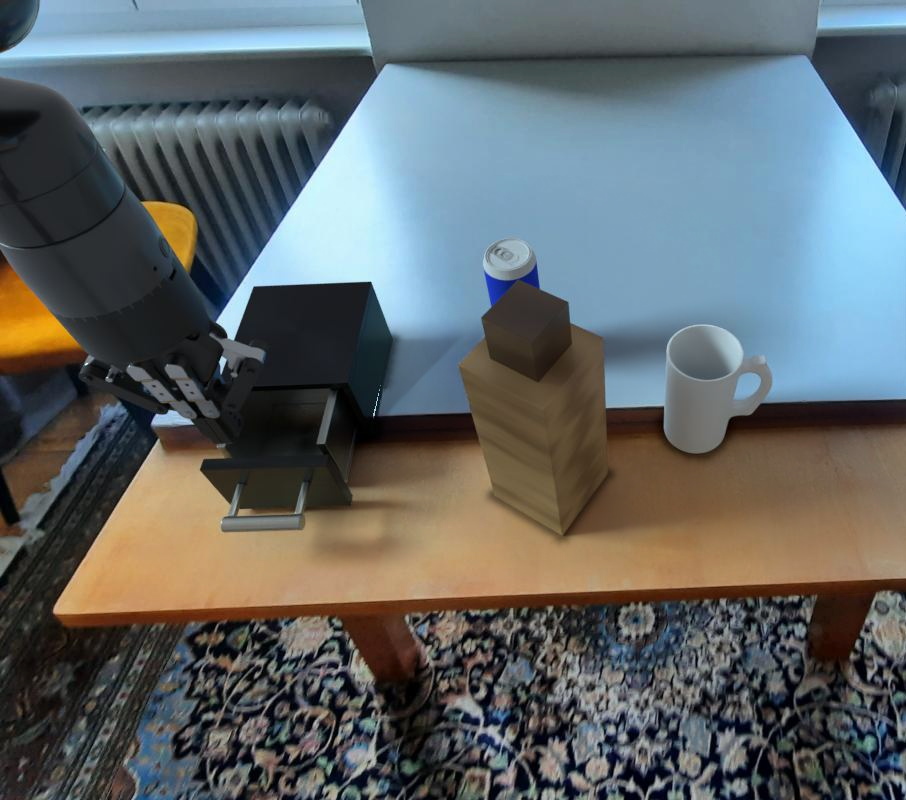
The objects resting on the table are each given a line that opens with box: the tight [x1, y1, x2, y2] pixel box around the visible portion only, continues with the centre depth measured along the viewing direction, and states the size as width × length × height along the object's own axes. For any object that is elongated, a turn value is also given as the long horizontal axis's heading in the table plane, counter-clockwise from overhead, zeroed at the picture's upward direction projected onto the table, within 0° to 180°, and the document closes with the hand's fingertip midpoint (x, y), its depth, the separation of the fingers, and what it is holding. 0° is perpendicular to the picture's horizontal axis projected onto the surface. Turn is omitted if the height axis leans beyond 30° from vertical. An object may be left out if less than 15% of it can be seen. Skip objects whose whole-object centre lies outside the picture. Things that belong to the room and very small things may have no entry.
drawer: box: [199, 388, 360, 534], centre depth 70 cm, size 17×11×7 cm, turn 0°
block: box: [480, 280, 572, 382], centre depth 54 cm, size 4×4×4 cm
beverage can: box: [482, 237, 541, 308], centre depth 76 cm, size 5×5×15 cm
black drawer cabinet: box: [221, 281, 394, 438], centre depth 77 cm, size 14×13×9 cm
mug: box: [663, 323, 773, 454], centre depth 70 cm, size 10×7×12 cm, turn 89°
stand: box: [457, 322, 609, 536], centre depth 64 cm, size 8×8×20 cm
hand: (229, 434), depth 57 cm, fingers closed
